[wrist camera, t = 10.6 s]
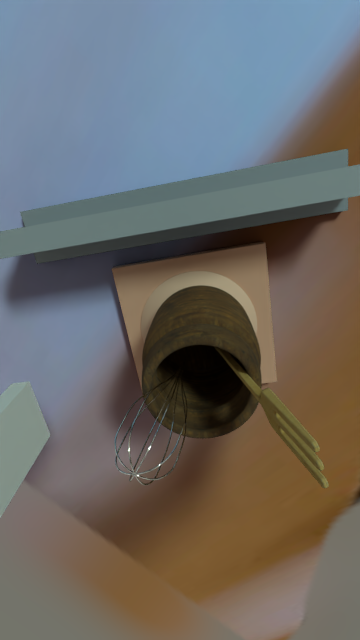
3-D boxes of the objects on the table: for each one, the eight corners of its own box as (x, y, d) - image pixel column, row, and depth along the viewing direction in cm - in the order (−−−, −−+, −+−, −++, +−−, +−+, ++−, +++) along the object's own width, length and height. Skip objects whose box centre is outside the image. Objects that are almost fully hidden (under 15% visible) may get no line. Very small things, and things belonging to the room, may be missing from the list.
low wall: (25, 211, 19) (-25, 214, 15) (343, 150, 17) (390, 134, 13) (41, 261, 20) (-1, 278, 16) (343, 209, 18) (387, 212, 14)
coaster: (114, 266, 20) (111, 269, 19) (262, 241, 19) (265, 243, 18) (145, 390, 23) (143, 398, 22) (274, 375, 22) (277, 382, 21)
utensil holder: (138, 299, 20) (54, 432, 8) (239, 267, 18) (300, 368, 7) (170, 380, 21) (137, 580, 10) (264, 355, 20) (344, 546, 9)
